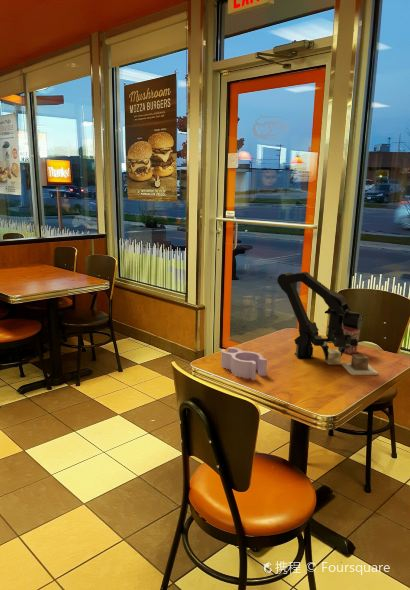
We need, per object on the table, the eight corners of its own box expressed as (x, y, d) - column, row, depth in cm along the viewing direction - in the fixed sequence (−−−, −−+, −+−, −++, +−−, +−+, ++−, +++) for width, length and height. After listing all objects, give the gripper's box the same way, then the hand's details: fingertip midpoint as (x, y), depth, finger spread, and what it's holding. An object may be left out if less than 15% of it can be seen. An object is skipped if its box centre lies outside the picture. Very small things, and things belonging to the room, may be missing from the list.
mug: (362, 351, 210) (364, 323, 207) (353, 356, 203) (356, 327, 200) (336, 345, 218) (339, 318, 215) (327, 349, 211) (330, 321, 209)
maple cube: (328, 364, 190) (329, 353, 189) (324, 360, 195) (325, 349, 194) (340, 364, 191) (341, 353, 190) (336, 360, 196) (336, 349, 194)
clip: (214, 367, 186) (214, 351, 185) (235, 360, 195) (235, 345, 193) (249, 382, 172) (250, 365, 170) (270, 374, 180) (271, 358, 179)
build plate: (351, 374, 181) (351, 372, 181) (341, 364, 192) (341, 362, 192) (377, 374, 182) (377, 372, 182) (366, 364, 193) (366, 362, 192)
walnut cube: (355, 369, 184) (356, 358, 183) (351, 365, 189) (352, 354, 188) (367, 369, 184) (368, 358, 183) (362, 365, 189) (363, 354, 188)
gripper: (319, 330, 181) (317, 366, 184) (365, 330, 182) (361, 366, 185) (311, 322, 192) (309, 357, 195) (354, 323, 193) (351, 357, 196)
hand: (332, 359), depth 193 cm, fingers closed on maple cube, 5 cm apart
